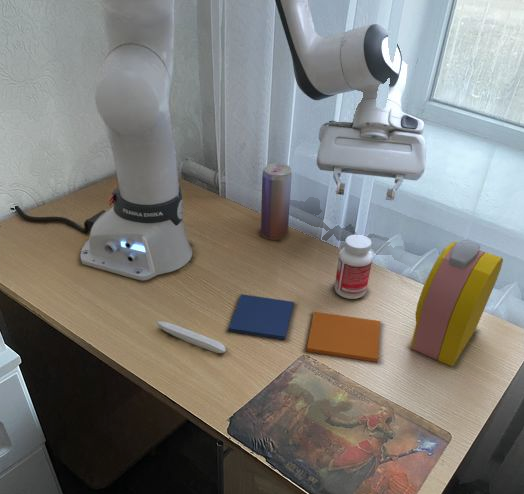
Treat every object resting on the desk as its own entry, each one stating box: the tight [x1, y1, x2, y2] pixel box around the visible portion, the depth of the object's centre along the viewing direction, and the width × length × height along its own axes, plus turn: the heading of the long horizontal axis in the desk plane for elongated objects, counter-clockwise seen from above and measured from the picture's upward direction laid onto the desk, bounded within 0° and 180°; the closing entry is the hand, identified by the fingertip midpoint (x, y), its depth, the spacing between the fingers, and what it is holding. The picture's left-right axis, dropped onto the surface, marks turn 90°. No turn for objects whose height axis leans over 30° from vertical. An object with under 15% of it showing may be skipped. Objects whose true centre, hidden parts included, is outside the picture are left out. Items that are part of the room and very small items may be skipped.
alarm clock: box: [410, 239, 504, 367], centre depth 88 cm, size 15×8×18 cm, turn 145°
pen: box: [155, 321, 227, 354], centre depth 91 cm, size 2×14×2 cm, turn 63°
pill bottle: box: [334, 234, 374, 300], centre depth 100 cm, size 6×6×11 cm
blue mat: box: [228, 294, 295, 341], centre depth 97 cm, size 10×10×1 cm
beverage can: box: [260, 162, 293, 241], centre depth 113 cm, size 6×6×15 cm
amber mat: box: [305, 311, 381, 363], centre depth 93 cm, size 12×10×1 cm
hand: (364, 196), depth 101 cm, fingers open, 8 cm apart
